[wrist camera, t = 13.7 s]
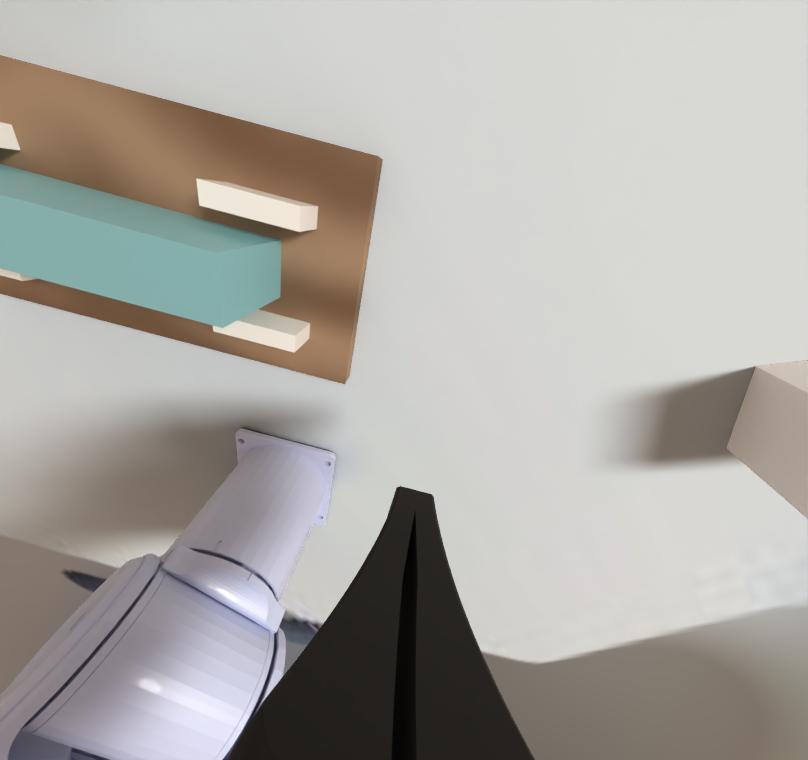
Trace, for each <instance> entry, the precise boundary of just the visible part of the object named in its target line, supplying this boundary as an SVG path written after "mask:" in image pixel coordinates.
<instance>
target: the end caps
mask: <svg viewBox="0 0 808 760" xmlns="http://www.w3.org/2000/svg"><path fill="white" fill-rule="evenodd" d="M0 148H6V149H13V150H20V147H19V144H18V142H17V139H16V136H15V133H14V130H13V127H12V125H11V124H7V123H3V122H0ZM196 181H197V190H198V199H199V205H200V206H203V207H207V208H211V209H215V210H219V211H222V212H226V213H230V214H234V215H237V216H241V217H245V218H249V219H252V220H256V221H260V222H264V223H267V224H271V225H275V226H279V227H282V228H286V229H290V230H294V231H298V232H302V231H309V230H315V229H317V216H318V206H315V205H311V204H307V203H304V202H300V201H296V200H292V199H289V198H285V197H281V196H277V195H274V194H270V193H266V192H262V191H258V190H255V189H251V188H247V187H243V186H240V185H236V184H232V183H228V182H222V181H214V180H205V179H197V178H196ZM0 275H1V276H5V277H9V278H13V279H17V280H20V281H27V280H33V279H38V278H34V277H30V276H27V275H23V274H19V273H15V272H12V271H8V270H4V269H0ZM213 331H214V332H218V333H222V334H225V335H229V336H233V337H237V338H241V339H244V340H248V341H252V342H256V343H260V344H263V345H267V346H271V347H275V348H279V349H282V350H286V351H290V352H294V353H295V352H296V351H297V350H298V349H299V348H300V347H301V346H302V345H303V344H304V343H305V342H306V341H307V340H308V339H309V334H310V323H308V322H304V321H300V320H296V319H293V318H289V317H285V316H281V315H277V314H274V313H270V312H266V311H262V310H256V311H254V312H252V313H250V314H248V315H246V316H244V317H243V318H241V319H239V320H237V321H235V322H233V323H231V324H229V325H228V326H226V327H224V328H221V327H217V326H213Z"/></svg>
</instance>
